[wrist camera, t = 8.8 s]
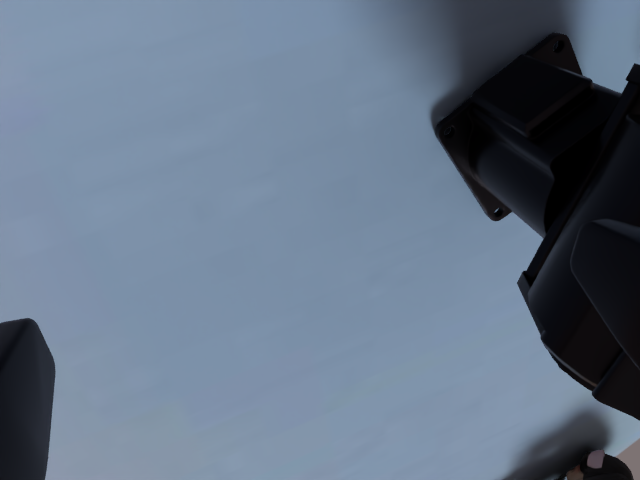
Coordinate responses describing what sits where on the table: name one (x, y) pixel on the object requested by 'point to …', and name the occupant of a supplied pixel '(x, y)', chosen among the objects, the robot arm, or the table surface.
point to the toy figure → (599, 468)
